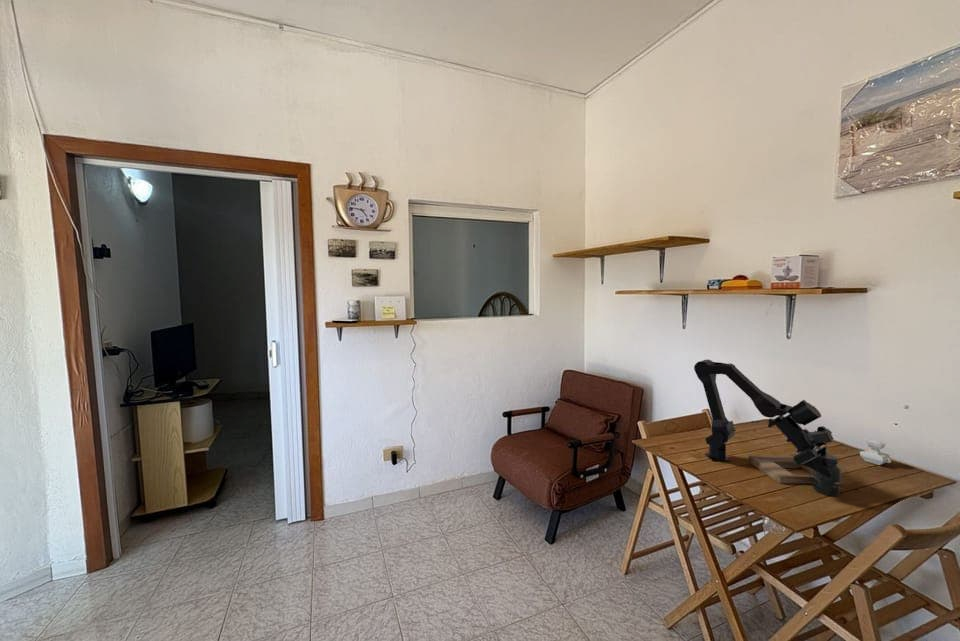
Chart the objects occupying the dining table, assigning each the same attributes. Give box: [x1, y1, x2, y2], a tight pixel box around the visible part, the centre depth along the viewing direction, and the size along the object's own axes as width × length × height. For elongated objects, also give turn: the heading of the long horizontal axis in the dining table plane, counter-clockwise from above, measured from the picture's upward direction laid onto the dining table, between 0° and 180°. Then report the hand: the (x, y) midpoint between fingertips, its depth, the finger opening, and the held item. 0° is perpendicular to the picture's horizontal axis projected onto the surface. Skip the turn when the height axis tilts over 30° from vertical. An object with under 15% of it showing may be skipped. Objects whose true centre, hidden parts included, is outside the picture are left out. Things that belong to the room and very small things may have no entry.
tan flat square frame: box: [747, 454, 814, 485], centre depth 145 cm, size 17×18×2 cm
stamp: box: [859, 439, 892, 466], centre depth 152 cm, size 9×7×8 cm
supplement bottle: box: [812, 453, 842, 497], centre depth 131 cm, size 7×7×12 cm
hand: (832, 473), depth 130 cm, fingers closed on supplement bottle, 7 cm apart
